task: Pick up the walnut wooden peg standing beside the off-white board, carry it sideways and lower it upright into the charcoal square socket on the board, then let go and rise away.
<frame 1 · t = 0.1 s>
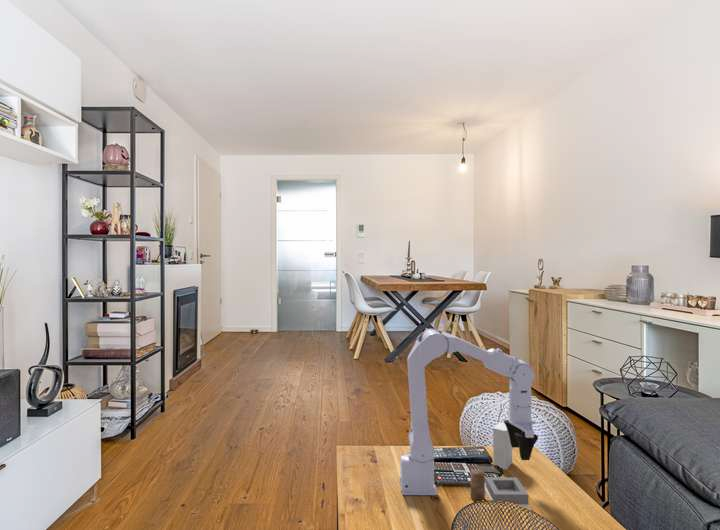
hand: (520, 453, 118), 10 cm above the table, tool pointing down, fingers open, 7 cm apart
skincare box: (502, 465, 132), on the table
socket board: (506, 498, 113), on the table
walnut peg: (477, 498, 113), on the table
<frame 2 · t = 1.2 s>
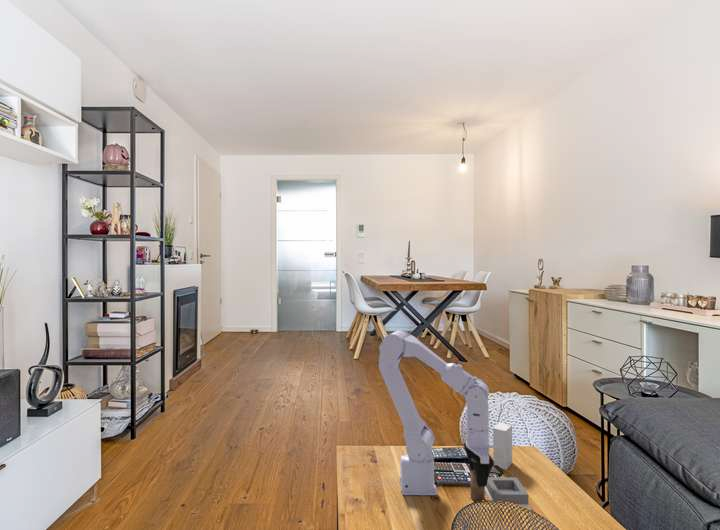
hand: (478, 478, 113), 5 cm above the table, tool pointing down, fingers open, 7 cm apart
nothing on the table moved.
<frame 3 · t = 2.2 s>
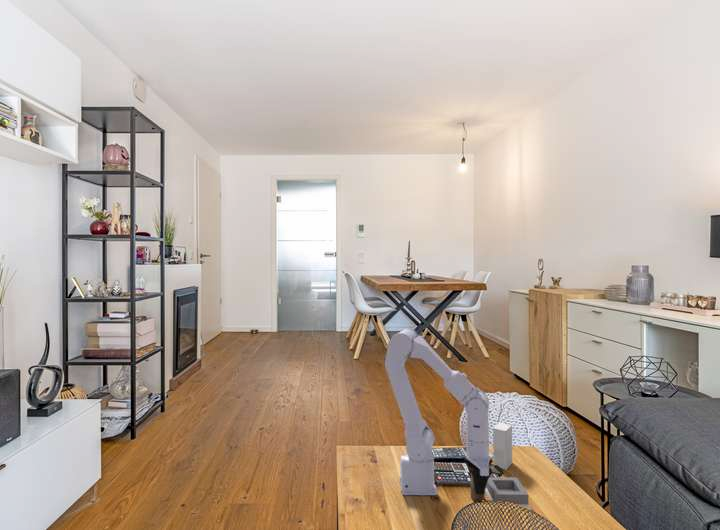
hand: (477, 489, 113), 2 cm above the table, tool pointing down, fingers closed on walnut peg, 4 cm apart
walnut peg: (477, 498, 113), on the table, touching gripper
everything else where it was.
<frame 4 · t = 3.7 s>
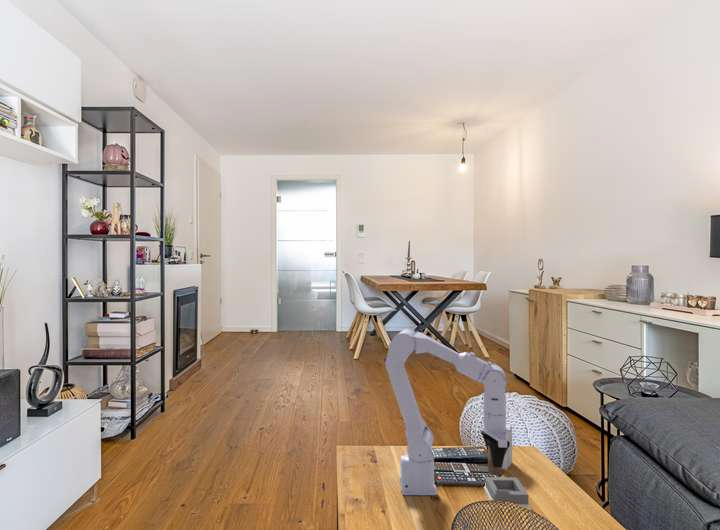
hand: (495, 463, 113), 10 cm above the table, tool pointing down, fingers closed on walnut peg, 4 cm apart
walnut peg: (495, 472, 113), point 7 cm above the table, touching gripper
everything else where it was.
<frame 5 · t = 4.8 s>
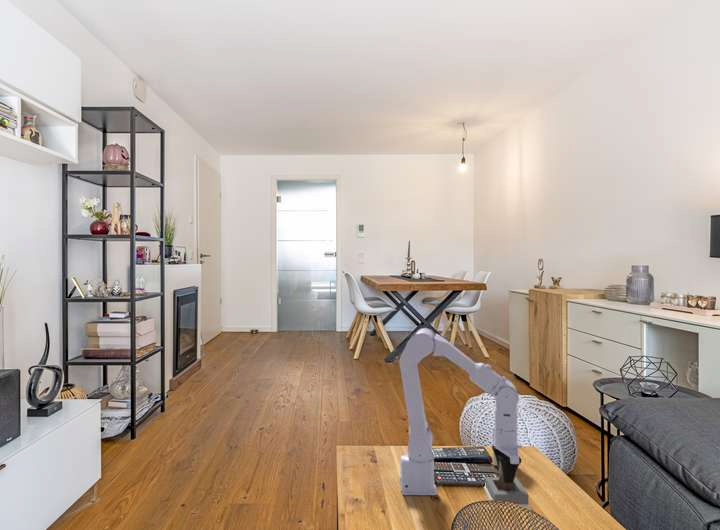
hand: (506, 478, 113), 5 cm above the table, tool pointing down, fingers closed on walnut peg, 4 cm apart
walnut peg: (506, 487, 113), point 3 cm above the table, touching gripper
everything else where it was.
when the fingers open (5 cm above the table, at t = 5.3 s): walnut peg drops 1 cm, resting on socket board.
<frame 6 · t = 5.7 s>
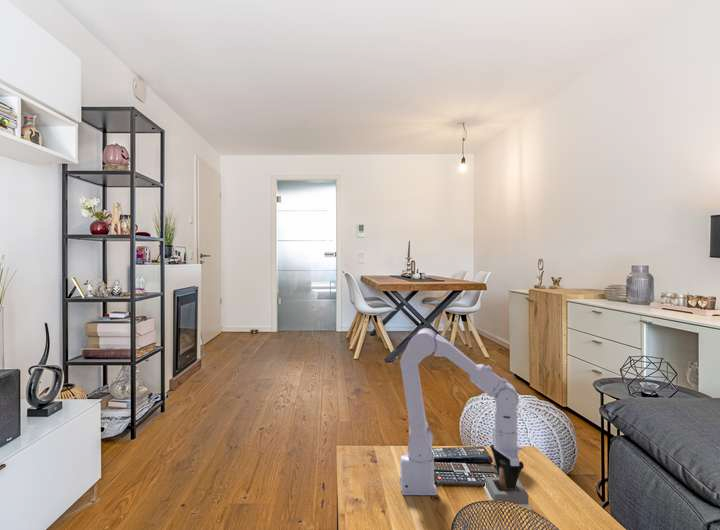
hand: (506, 480, 113), 5 cm above the table, tool pointing down, fingers open, 7 cm apart
walnut peg: (506, 495, 113), point 1 cm above the table, touching socket board
everything else where it was.
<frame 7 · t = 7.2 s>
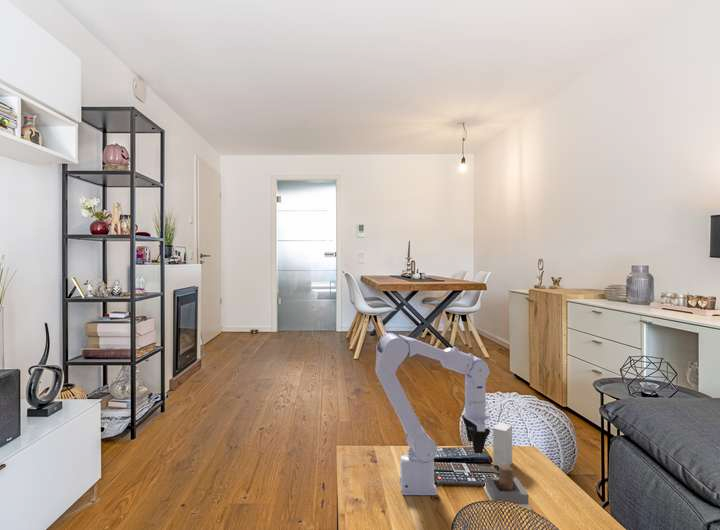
hand: (475, 446, 121), 10 cm above the table, tool pointing down, fingers open, 7 cm apart
nothing on the table moved.
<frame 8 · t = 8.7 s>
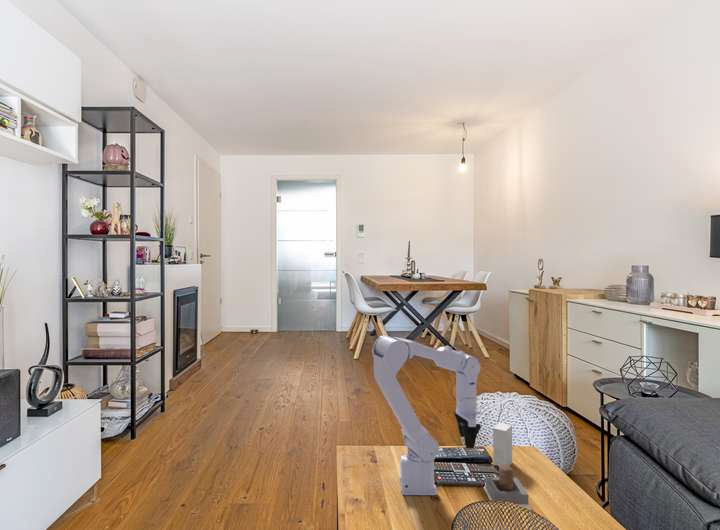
hand: (466, 442, 124), 10 cm above the table, tool pointing down, fingers open, 7 cm apart
nothing on the table moved.
at the end: walnut peg 0.0 cm off-centre on the socket board, point 1.0 cm above the socket board's base; walnut peg tilted 0°; the gripper is holding nothing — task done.
